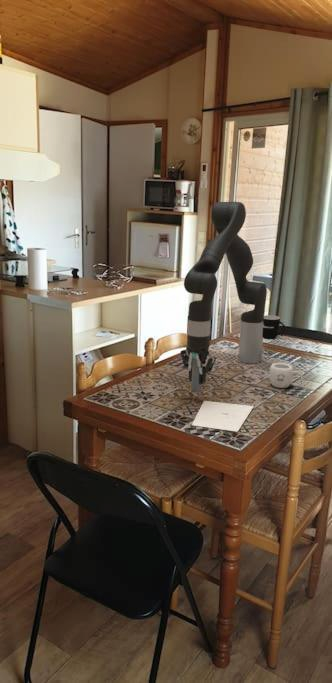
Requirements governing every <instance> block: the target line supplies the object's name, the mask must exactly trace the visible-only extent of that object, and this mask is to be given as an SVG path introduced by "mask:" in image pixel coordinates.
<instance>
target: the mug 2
mask: <svg viewBox="0 0 332 683" xmlns="http://www.w3.org/2000/svg"><path fill="white" fill-rule="evenodd" d="M268 373H269V374H268V375H269V382H270V384H271V386H272V387H274V388H277V389H278V388H279V389H286V388H288V387H290V386H291V385H292V386H294V387H299V386H300V385H302V383H303V380H304V379H303V378H304V377H303V375H302V373H301V372H300V371H298V370H294V367H293V365H291V364H289V363H286V362H275V363H274V362H273V363H272V364H271V365H270V368H269V372H268ZM294 374H298V375H299V377H300V381H299V383H294V382H292V381H293V378H294Z"/></svg>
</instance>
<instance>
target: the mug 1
mask: <svg viewBox="0 0 332 683" xmlns="http://www.w3.org/2000/svg"><path fill="white" fill-rule="evenodd" d="M280 325H282V328H283V330H282V331H281V332H279V328H280ZM285 326H286V325H285V324H284V323H283V322H282V321H281V318H280V317H279V316H278V315H272V314H271V315H269V314H267V315H265V314H264V319H263V333H262V338H263V339H266V340H274V339H276V338H277V337H278V336H280V335H283V334H284V333H285V331H286V327H285Z"/></svg>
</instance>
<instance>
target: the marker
mask: <svg viewBox="0 0 332 683" xmlns="http://www.w3.org/2000/svg"><path fill="white" fill-rule="evenodd" d="M192 353H193V357H192V358H193V359H192V381H190V382H191V385H190V386H191V387H190V389H191V390H190V391H191V392H192V393H194V394H199V393H202V392H203V384H199V374H200V372H199V367H198V365H197V359H196V354H199V353H196V352H192ZM201 364H203V363H201Z"/></svg>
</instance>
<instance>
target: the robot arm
mask: <svg viewBox="0 0 332 683" xmlns="http://www.w3.org/2000/svg"><path fill="white" fill-rule="evenodd" d="M210 214H211V220H212V223H213V226H214V229H215V231H216V233H217V235H216V236H215V237H214V238H212V239H211V240H210V241H209V242H208V243H206V245H205V247H204V249H203V250H202V253H201V255H200V257H199V259H198V261H196V263H194V265H193V266H192V267H191V268H190V269H189V271H188V272H187V273H186V275H185V277H184V279H183V280H184V281H183V286H184V287H183V288H184V289H185V291H186V292H187V293H190V294H194V295H203V296H202V298H201V299H199V300H193V301H191V302H190V303H189V305H188V320H187V321H188V322H187V328H186V329H187V332H186V333H187V334H186V338H187V339H186V346H187V349H182V350H180V356H181V359H182V363H183V368H185V369H187V370H188V381H190V382H191V381H192V359H193V358H192V357H193V353H192V352H196V353H199V354H196V359H197V365H198V367H199V372H200V374H199V384H202V385H204V384H205V383H206V381H207V380H206V379H207V376H206V375H207V374H208V373H211V372H212V370H213V368H214V365H215V362H216V360H217V357H216V356H212V355H210V352H209V348H210V346H211V344H210V342H211V308H212V303H213V299H214V295H215V293H216V292H217V287H218V280H217V277H216V275H215V274H216V273H217V272H218V271H219V269H220V266H221V264H222V262H223V258H224V257H225V255H226V259H227V262H228V265H229V267H230V269H231V272H232V275H233V279H234V284H235V289H236V293H237V297H238V299H239V301H240V303H242V304H245V305H251V306H252V305H253V306H254V307H253V309H252V310H249V311H244V312H242V313H241V315H240V327H239V328H240V329H239V344H238V345H239V346H238V361H239V362H240V363H244V364H259V363H260V362H261V361H262V359H263V358H262V357H263V345H264V344H263V343H264V338H263V337H262V333H263V319H264V316H265V312H266V302H267V293H268V292H267V289H268V288H267V285H266V284H265V283H264V282H256V281H249V280H248V278H247V275H248V274H249V272H250V271H251V269H252V268H253V265H254V257H253V254H252V251H251V247H250V246H249V244H248V243H247V242H246V241H245V240H244V239H243V238H242V236H240V235H239V233H240V231H241V230H242V228H243V226H244V224H245V221H246V217H247V211H246V206H245V204H244V203H243V202H240V201H218V202H215V203H214V204H213V205H212V207H211V213H210ZM201 363H203V364H201Z"/></svg>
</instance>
